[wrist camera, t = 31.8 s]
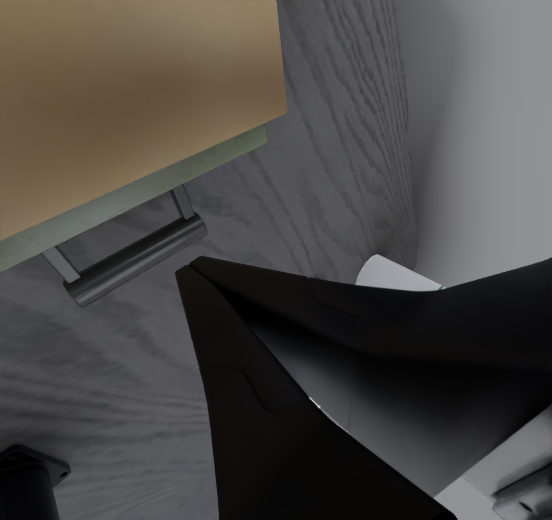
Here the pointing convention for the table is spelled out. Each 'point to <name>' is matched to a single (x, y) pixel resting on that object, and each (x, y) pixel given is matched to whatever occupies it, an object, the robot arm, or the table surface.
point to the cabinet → (124, 93)
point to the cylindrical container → (393, 276)
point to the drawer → (110, 205)
